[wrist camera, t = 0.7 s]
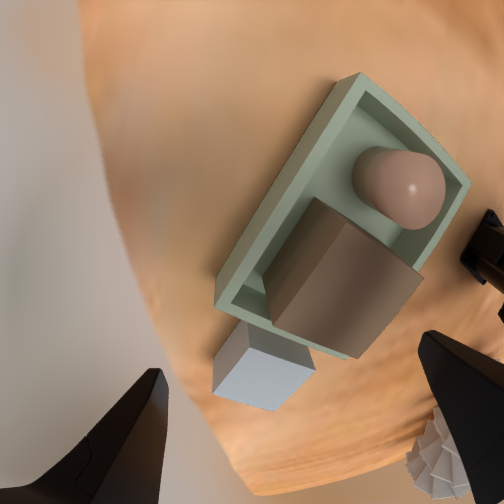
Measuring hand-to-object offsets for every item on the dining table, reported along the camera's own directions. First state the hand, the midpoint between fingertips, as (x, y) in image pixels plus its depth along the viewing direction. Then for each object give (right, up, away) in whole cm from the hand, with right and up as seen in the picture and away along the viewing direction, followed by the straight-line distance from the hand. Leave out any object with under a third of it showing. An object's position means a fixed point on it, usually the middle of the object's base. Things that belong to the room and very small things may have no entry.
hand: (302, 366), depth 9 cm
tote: (+5, +6, +12) cm, 15 cm away
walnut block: (+4, +3, +13) cm, 14 cm away
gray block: (-1, -5, +17) cm, 18 cm away
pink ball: (+8, +9, +11) cm, 16 cm away
